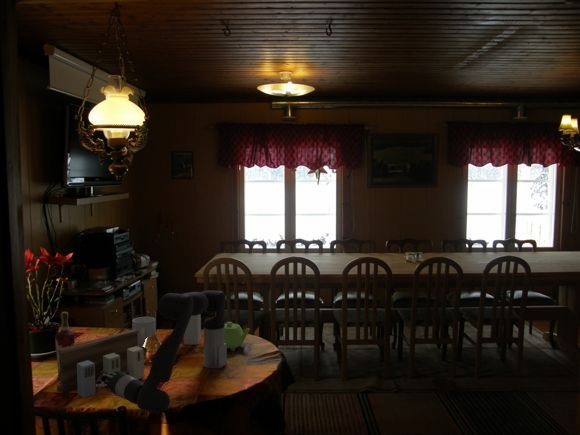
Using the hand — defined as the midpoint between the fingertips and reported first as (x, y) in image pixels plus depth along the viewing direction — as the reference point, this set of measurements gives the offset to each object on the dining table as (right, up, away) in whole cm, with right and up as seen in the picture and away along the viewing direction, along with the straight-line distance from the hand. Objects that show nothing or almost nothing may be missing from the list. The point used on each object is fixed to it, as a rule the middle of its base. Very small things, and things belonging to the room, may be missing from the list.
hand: (100, 373), depth 174 cm
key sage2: (-1, -10, +15) cm, 18 cm away
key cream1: (+6, -9, +23) cm, 25 cm away
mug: (-3, -7, +61) cm, 61 cm away
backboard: (-9, -9, +21) cm, 24 cm away
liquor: (-22, -9, +20) cm, 31 cm away
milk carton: (+20, -6, +67) cm, 70 cm away
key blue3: (-8, -10, +7) cm, 15 cm away
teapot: (+40, -7, +59) cm, 72 cm away
